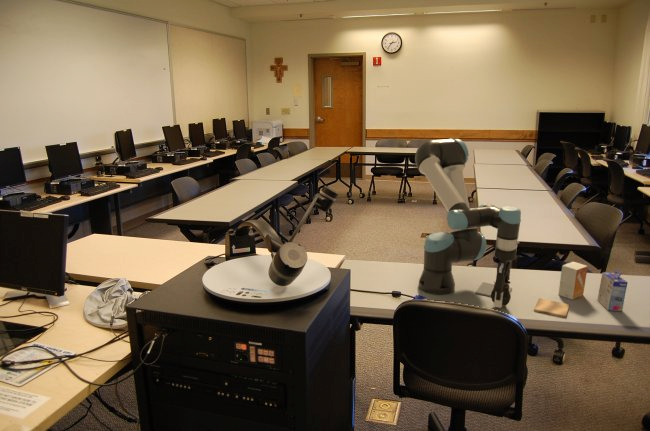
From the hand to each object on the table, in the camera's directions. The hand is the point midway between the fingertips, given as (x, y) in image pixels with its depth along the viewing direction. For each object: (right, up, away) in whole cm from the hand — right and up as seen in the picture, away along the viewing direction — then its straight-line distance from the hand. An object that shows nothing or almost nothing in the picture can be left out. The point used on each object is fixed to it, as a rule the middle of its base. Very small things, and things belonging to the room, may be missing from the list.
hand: (500, 302), depth 187 cm
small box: (+33, +1, +10) cm, 34 cm away
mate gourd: (0, 0, 0) cm, 1 cm away
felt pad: (+3, +2, +14) cm, 15 cm away
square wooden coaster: (+19, -2, -2) cm, 20 cm away
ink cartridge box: (+43, -1, 0) cm, 43 cm away
